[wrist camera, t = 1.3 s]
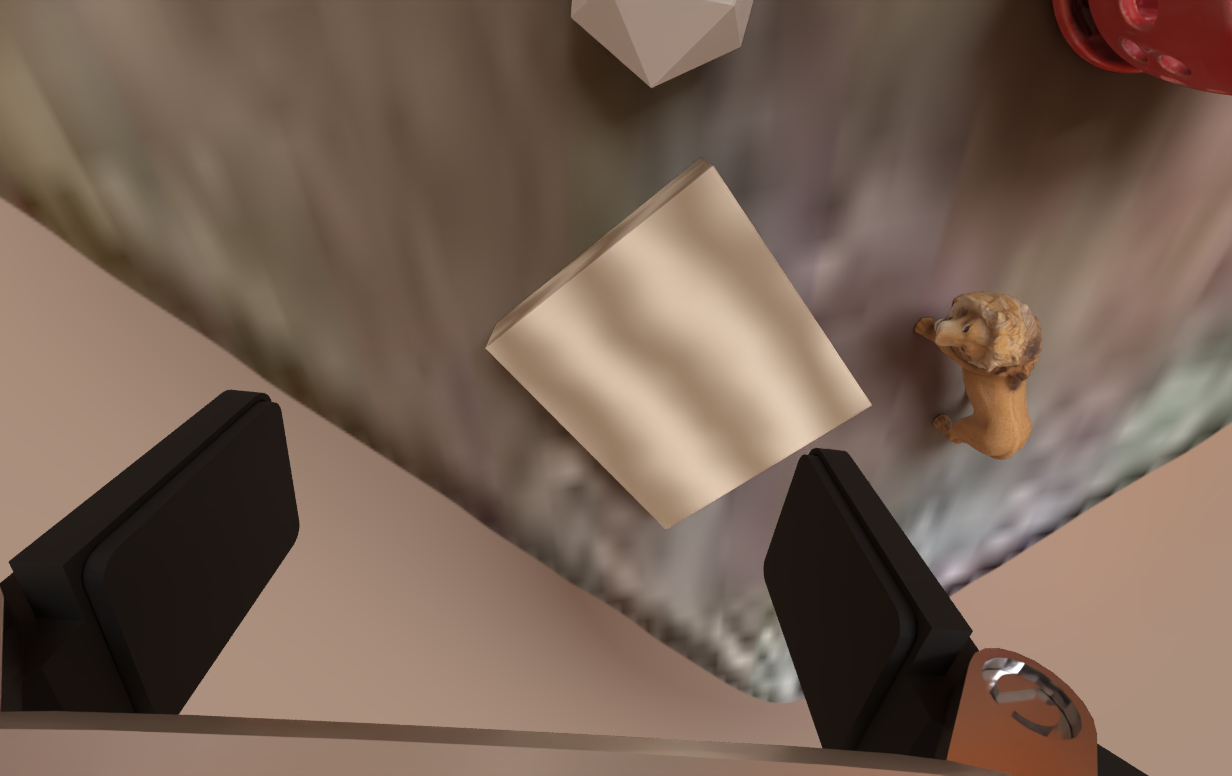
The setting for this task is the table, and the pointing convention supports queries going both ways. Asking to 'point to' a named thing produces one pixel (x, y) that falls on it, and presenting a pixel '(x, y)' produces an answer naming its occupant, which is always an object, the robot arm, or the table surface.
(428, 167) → the table surface
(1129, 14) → the plant pot
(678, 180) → the birch plinth
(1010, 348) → the lion figurine
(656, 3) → the die
